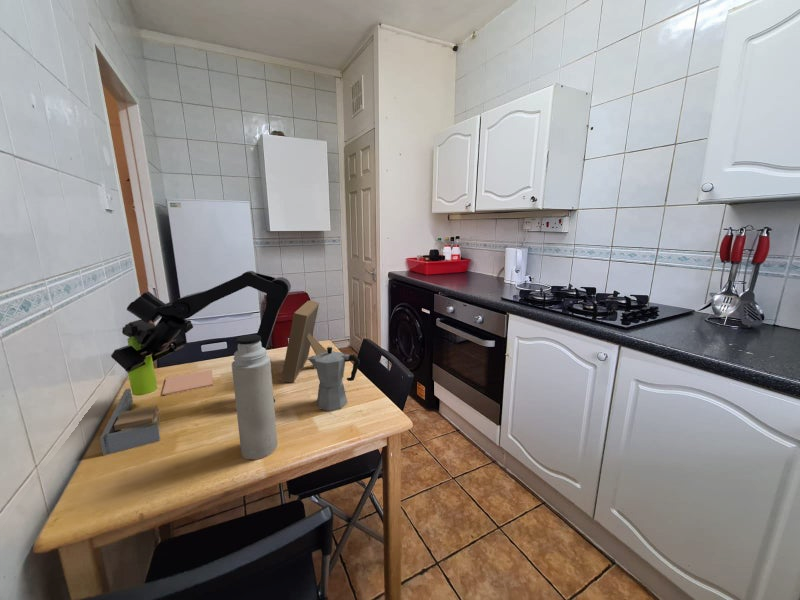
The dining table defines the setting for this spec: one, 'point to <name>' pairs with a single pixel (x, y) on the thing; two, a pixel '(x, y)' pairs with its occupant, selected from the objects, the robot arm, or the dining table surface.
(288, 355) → the photo frame
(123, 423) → the walnut offcuts
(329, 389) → the coffeepot
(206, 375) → the terracotta tile
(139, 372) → the soap dispenser
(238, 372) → the thermos bottle
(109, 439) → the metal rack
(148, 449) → the dining table surface
